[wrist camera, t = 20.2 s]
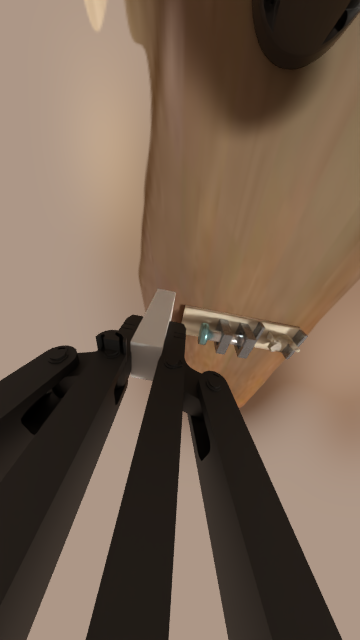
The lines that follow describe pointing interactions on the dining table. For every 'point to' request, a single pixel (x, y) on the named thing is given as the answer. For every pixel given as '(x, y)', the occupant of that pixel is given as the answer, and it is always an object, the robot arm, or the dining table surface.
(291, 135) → the dining table surface
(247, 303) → the dining table surface
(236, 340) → the shaft
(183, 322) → the board
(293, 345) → the bone
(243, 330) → the grey angular blocks
